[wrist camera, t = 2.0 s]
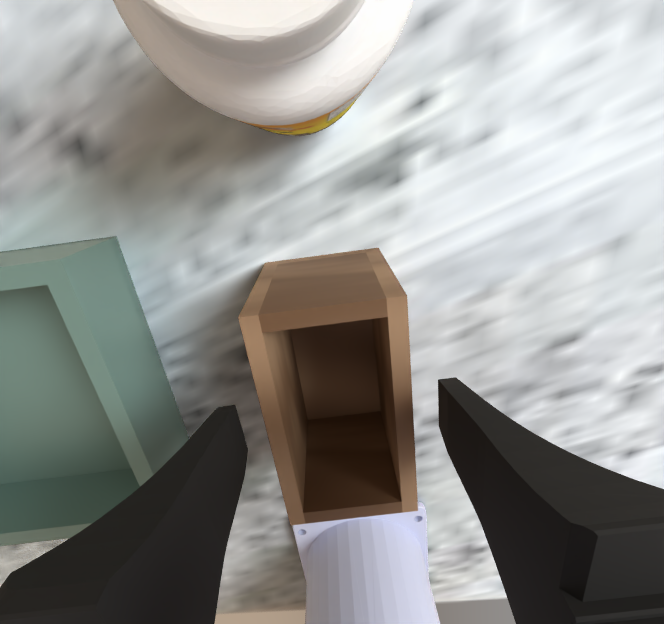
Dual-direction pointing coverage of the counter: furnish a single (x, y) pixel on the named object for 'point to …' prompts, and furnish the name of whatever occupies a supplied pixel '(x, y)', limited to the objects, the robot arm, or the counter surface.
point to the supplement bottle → (269, 54)
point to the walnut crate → (334, 384)
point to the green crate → (76, 390)
